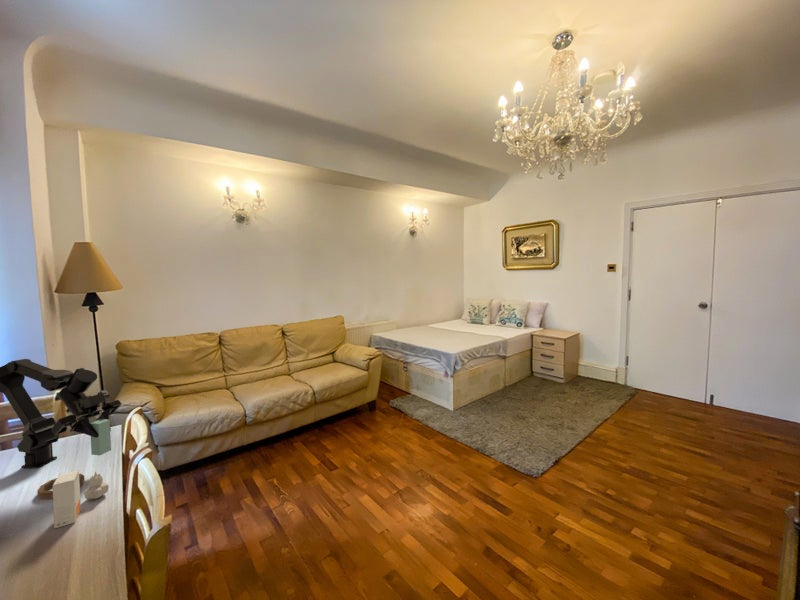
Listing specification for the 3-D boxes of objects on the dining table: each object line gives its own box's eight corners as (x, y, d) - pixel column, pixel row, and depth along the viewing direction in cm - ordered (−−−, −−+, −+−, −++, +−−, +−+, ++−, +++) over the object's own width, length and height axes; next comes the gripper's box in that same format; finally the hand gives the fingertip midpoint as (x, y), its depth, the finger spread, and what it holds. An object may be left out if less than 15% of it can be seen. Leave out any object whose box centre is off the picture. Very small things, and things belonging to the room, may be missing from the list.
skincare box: (76, 522, 89) (73, 480, 89) (54, 529, 87) (51, 485, 86) (81, 509, 94) (79, 469, 94) (60, 515, 92) (58, 474, 91)
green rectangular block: (91, 454, 112) (89, 423, 112) (102, 449, 116) (101, 418, 115) (100, 455, 112) (98, 424, 111) (111, 450, 115) (109, 419, 115)
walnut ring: (61, 479, 109) (60, 474, 109) (92, 479, 109) (92, 473, 109) (28, 499, 99) (28, 493, 99) (62, 498, 99) (62, 492, 99)
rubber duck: (107, 489, 104) (106, 464, 103) (110, 498, 99) (109, 472, 99) (83, 497, 100) (82, 472, 99) (85, 507, 95) (84, 480, 95)
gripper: (56, 394, 104) (86, 431, 103) (116, 378, 122) (142, 408, 121) (38, 417, 106) (67, 453, 104) (100, 397, 124) (125, 428, 123)
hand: (103, 434), depth 113 cm, fingers closed on green rectangular block, 4 cm apart
